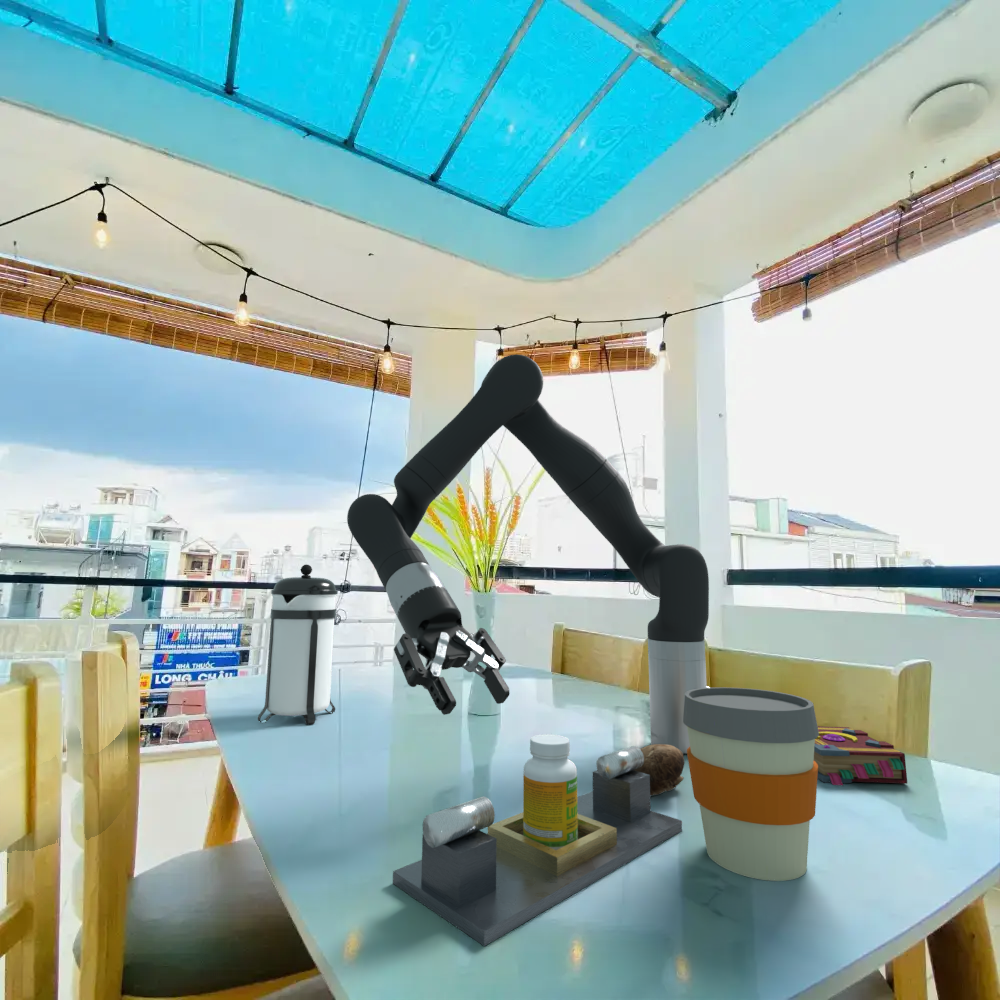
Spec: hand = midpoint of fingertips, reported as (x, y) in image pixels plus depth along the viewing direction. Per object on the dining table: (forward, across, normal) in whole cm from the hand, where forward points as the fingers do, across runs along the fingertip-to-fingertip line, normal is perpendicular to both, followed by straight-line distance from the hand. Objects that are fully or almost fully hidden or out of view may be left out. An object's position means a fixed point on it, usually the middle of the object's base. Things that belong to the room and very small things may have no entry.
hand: (478, 704), depth 67 cm
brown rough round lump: (+16, +22, +2) cm, 27 cm away
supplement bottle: (+16, -1, 0) cm, 17 cm away
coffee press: (-34, +6, +51) cm, 62 cm away
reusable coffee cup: (+28, +13, -10) cm, 32 cm away
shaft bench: (+17, -1, 0) cm, 17 cm away
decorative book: (+26, +50, -7) cm, 57 cm away
